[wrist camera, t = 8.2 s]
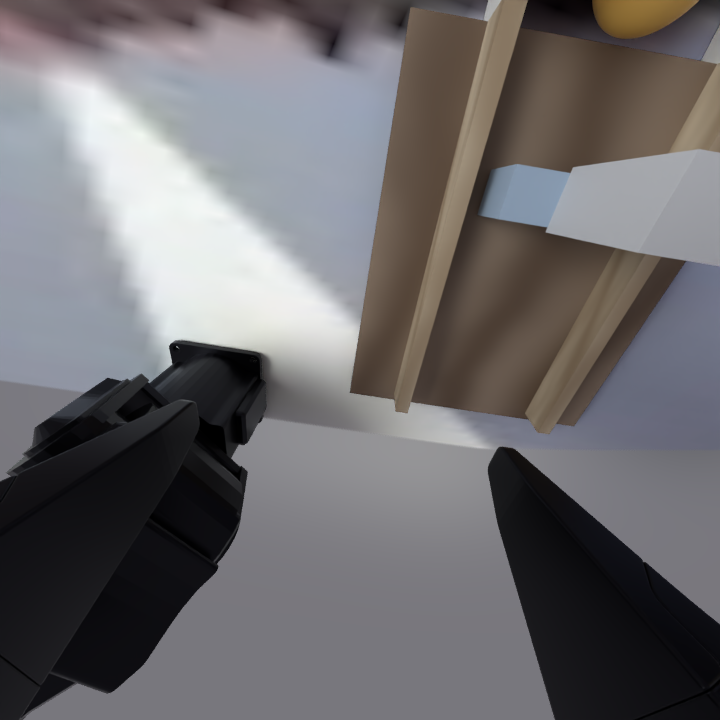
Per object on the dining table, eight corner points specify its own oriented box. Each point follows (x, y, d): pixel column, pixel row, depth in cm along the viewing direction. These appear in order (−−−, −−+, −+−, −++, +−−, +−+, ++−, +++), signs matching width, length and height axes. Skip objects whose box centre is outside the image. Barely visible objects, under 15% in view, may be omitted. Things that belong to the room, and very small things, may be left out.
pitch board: (350, 385, 22) (347, 410, 20) (408, 20, 13) (416, -26, 10) (566, 417, 23) (590, 446, 20) (779, 88, 13) (879, 61, 11)
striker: (475, 219, 15) (561, 240, 8) (492, 164, 14) (610, 133, 7) (601, 240, 15) (793, 278, 8) (628, 188, 14) (879, 181, 7)
